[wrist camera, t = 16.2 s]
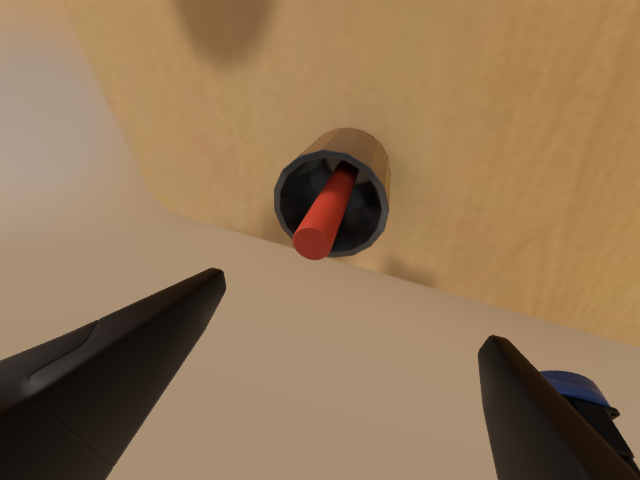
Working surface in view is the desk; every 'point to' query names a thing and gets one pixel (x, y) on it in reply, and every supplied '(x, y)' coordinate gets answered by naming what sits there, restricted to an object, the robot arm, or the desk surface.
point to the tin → (366, 197)
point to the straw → (325, 214)
